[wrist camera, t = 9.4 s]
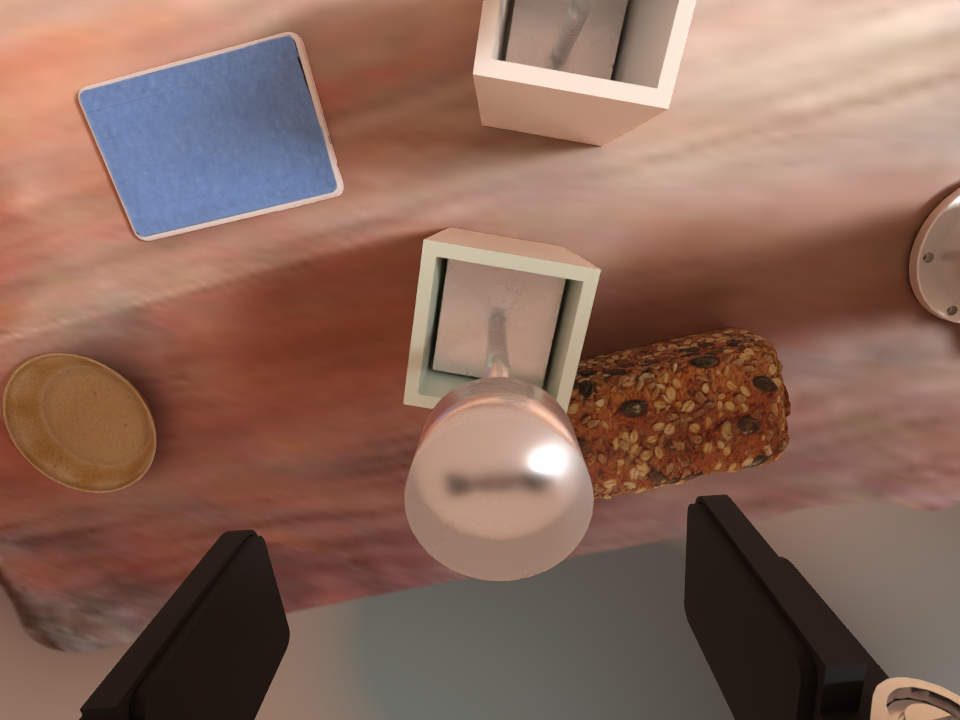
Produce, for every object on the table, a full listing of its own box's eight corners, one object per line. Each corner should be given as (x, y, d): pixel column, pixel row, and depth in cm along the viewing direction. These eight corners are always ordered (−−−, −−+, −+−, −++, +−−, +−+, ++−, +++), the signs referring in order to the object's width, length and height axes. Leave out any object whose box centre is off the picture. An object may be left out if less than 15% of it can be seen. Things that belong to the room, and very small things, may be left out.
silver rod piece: (564, 276, 31) (680, 395, 12) (541, 384, 34) (604, 635, 14) (449, 256, 31) (369, 344, 12) (433, 366, 33) (344, 595, 14)
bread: (555, 458, 49) (569, 520, 39) (534, 360, 46) (544, 401, 36) (745, 422, 47) (808, 477, 37) (736, 317, 44) (803, 348, 34)
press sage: (563, 246, 42) (601, 269, 27) (540, 354, 45) (562, 430, 30) (450, 227, 42) (423, 239, 27) (434, 336, 45) (403, 403, 30)
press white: (633, 4, 36) (732, -140, 21) (601, 146, 40) (668, 108, 24) (503, -20, 36) (508, -183, 21) (481, 125, 39) (472, 73, 24)
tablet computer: (302, 31, 38) (296, 25, 37) (348, 195, 42) (344, 195, 41) (83, 91, 40) (70, 87, 39) (146, 243, 44) (136, 244, 42)
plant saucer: (0, 357, 47) (-27, 365, 45) (141, 335, 46) (121, 342, 44) (63, 487, 52) (41, 501, 49) (192, 470, 50) (177, 483, 48)
